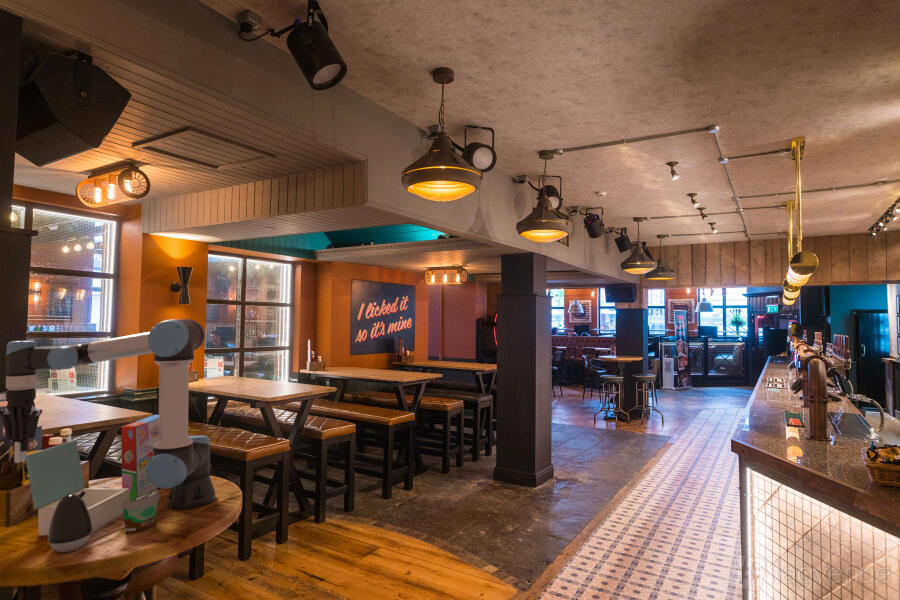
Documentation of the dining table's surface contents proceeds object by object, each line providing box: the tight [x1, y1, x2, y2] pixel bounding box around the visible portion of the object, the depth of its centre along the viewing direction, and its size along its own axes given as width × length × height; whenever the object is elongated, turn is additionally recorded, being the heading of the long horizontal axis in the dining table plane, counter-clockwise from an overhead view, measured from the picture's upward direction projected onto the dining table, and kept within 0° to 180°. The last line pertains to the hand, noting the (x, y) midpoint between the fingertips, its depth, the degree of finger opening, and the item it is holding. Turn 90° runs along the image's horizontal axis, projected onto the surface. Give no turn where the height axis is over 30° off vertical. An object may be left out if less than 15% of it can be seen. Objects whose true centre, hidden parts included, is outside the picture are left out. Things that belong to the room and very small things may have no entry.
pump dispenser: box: [47, 492, 92, 553], centre depth 147 cm, size 10×10×15 cm
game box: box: [120, 414, 160, 501], centre depth 192 cm, size 21×6×27 cm, turn 0°
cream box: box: [37, 487, 130, 536], centre depth 164 cm, size 16×18×8 cm
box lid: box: [25, 439, 85, 510], centre depth 165 cm, size 16×18×1 cm
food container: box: [121, 489, 161, 535], centre depth 160 cm, size 12×6×10 cm, turn 168°
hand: (20, 461), depth 166 cm, fingers closed
